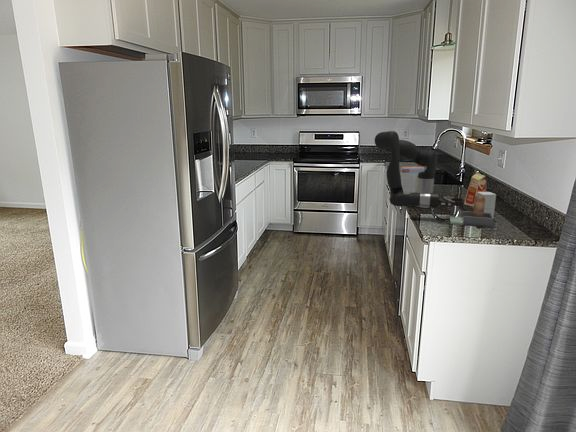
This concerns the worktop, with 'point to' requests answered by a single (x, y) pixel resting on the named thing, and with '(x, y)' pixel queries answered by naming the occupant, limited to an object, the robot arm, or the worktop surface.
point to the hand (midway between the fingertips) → (462, 202)
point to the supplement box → (488, 201)
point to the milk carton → (475, 188)
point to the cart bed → (474, 220)
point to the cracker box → (410, 178)
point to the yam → (478, 206)
